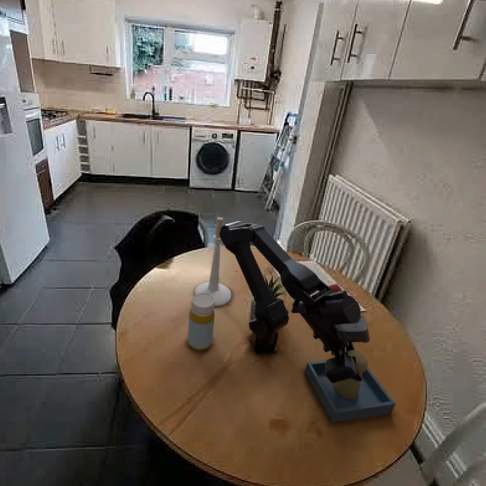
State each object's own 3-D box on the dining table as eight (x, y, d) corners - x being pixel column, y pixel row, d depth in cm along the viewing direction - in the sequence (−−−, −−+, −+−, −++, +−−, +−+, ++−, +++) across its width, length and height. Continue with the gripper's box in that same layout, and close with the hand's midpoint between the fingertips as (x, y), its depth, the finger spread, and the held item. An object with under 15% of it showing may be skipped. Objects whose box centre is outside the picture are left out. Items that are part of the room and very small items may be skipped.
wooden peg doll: (328, 377, 80) (339, 345, 76) (350, 377, 81) (363, 345, 76) (339, 399, 74) (352, 366, 70) (363, 399, 75) (377, 366, 71)
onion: (341, 308, 108) (347, 289, 105) (324, 305, 108) (329, 286, 105) (338, 298, 113) (344, 280, 110) (322, 295, 114) (327, 277, 111)
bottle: (215, 338, 91) (220, 296, 85) (205, 355, 85) (209, 311, 79) (194, 329, 93) (197, 288, 87) (183, 345, 87) (185, 302, 81)
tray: (332, 423, 70) (335, 412, 69) (304, 371, 82) (307, 362, 81) (391, 414, 73) (395, 403, 72) (356, 365, 85) (359, 356, 84)
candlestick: (187, 294, 108) (191, 215, 97) (210, 279, 118) (217, 206, 106) (215, 311, 101) (223, 229, 90) (238, 294, 110) (248, 218, 99)
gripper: (356, 338, 61) (401, 397, 62) (350, 286, 78) (385, 333, 79) (308, 355, 66) (349, 409, 68) (311, 303, 83) (345, 346, 84)
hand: (359, 371), depth 74 cm, fingers closed on wooden peg doll, 5 cm apart
